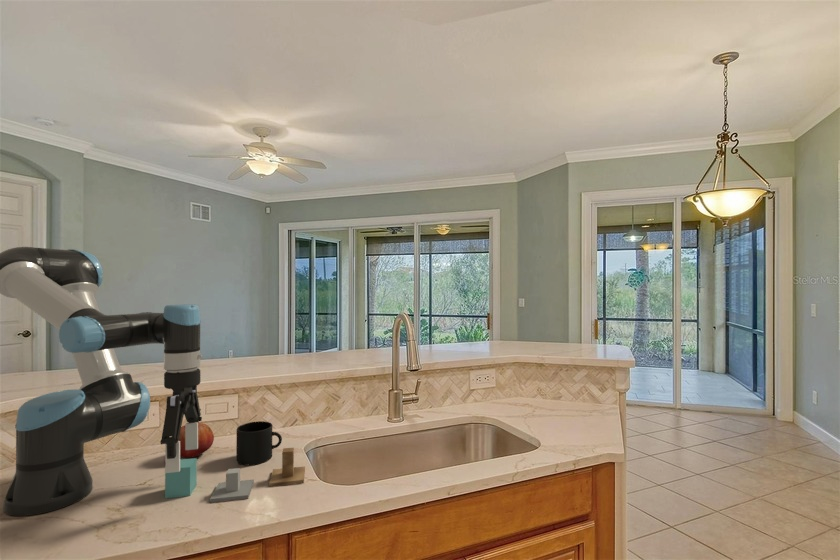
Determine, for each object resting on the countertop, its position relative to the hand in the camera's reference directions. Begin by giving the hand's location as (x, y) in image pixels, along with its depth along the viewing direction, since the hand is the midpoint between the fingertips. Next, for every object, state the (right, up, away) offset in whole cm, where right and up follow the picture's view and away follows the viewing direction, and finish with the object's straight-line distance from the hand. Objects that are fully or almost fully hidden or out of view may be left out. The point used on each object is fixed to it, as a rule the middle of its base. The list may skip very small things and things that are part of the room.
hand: (183, 459), depth 99 cm
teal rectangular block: (0, -8, 0) cm, 8 cm away
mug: (+11, -8, +19) cm, 24 cm away
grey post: (+12, -8, 0) cm, 14 cm away
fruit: (-9, -8, +21) cm, 24 cm away
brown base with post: (+22, -8, +7) cm, 25 cm away
